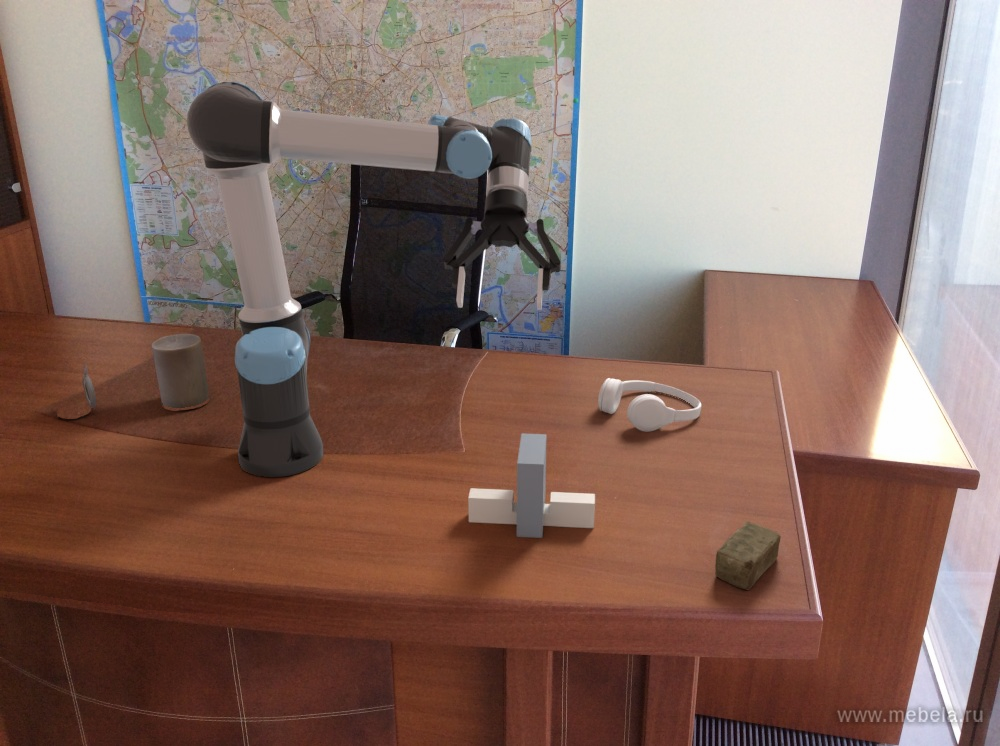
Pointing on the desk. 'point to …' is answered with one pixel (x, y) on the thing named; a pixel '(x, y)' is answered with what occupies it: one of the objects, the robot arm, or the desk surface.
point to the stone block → (747, 555)
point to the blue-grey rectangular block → (531, 485)
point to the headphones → (646, 403)
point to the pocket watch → (89, 389)
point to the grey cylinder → (180, 370)
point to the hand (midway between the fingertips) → (499, 305)
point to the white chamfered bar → (557, 513)
